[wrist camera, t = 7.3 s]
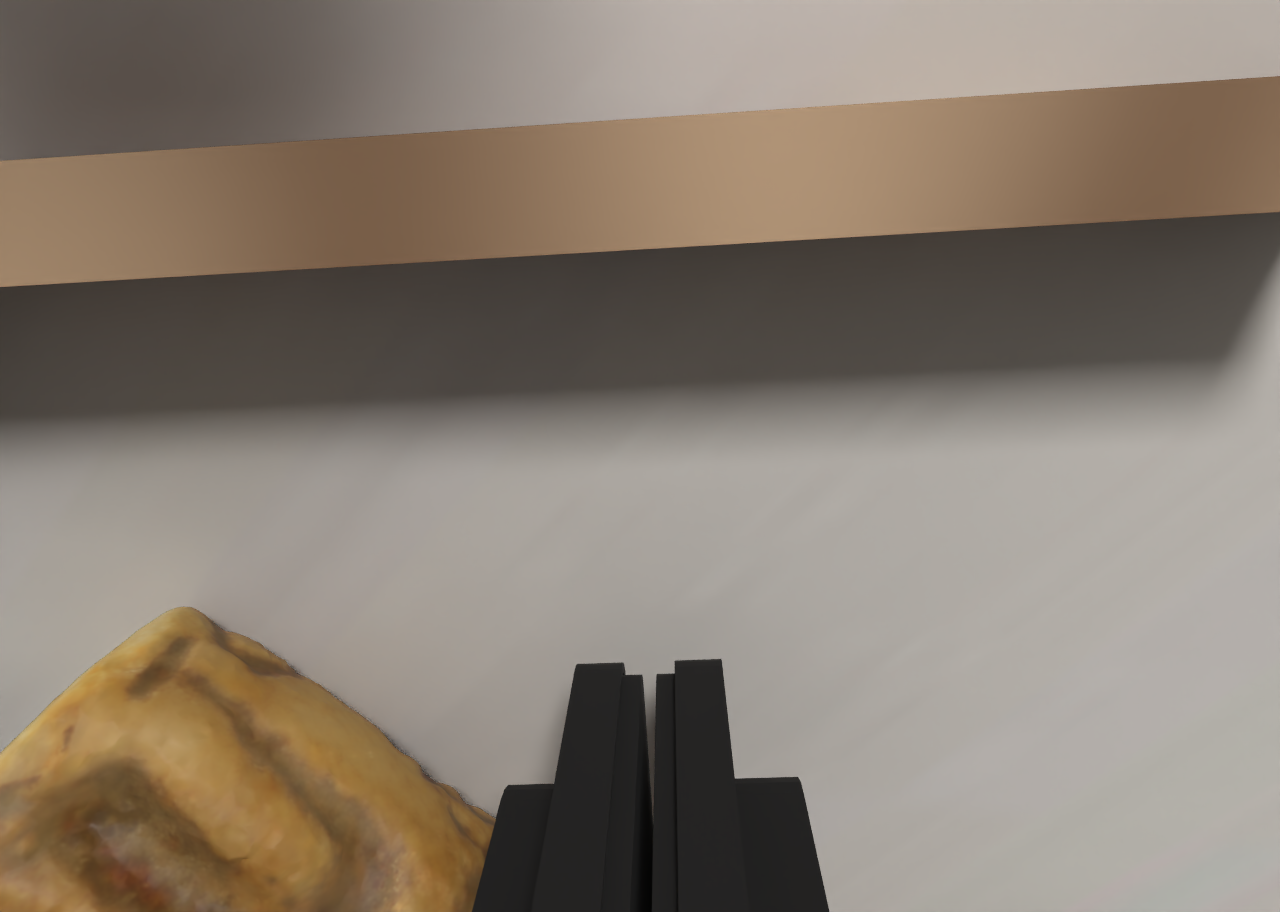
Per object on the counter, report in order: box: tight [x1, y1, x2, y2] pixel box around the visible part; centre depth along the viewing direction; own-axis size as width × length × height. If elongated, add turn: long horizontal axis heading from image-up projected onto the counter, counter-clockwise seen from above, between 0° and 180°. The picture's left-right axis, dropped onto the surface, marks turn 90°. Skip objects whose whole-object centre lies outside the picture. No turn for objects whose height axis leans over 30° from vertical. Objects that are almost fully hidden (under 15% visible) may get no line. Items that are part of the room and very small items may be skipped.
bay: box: [0, 76, 1280, 287], centre depth 8 cm, size 18×18×5 cm
